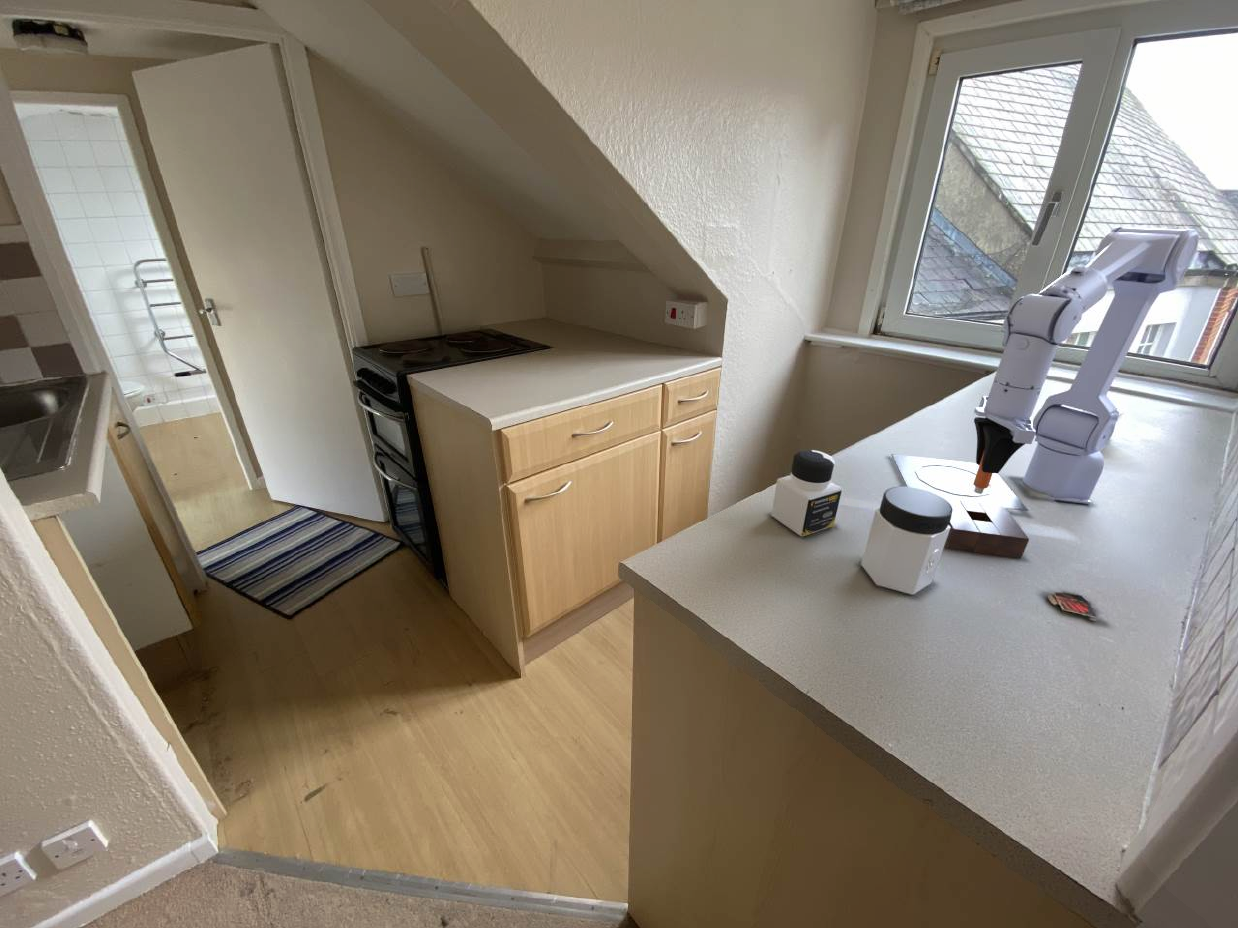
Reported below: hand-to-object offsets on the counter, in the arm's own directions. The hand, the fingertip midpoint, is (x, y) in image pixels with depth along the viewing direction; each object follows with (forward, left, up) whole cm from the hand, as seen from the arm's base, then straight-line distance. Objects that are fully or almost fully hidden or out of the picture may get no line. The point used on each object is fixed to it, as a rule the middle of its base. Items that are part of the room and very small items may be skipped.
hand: (986, 468), depth 81 cm
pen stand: (0, +3, -10) cm, 11 cm away
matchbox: (-7, +18, -10) cm, 22 cm away
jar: (+14, +17, -11) cm, 24 cm away
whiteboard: (-2, -15, -10) cm, 19 cm away
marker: (0, 0, -4) cm, 4 cm away
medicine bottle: (+26, +6, -11) cm, 29 cm away
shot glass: (-40, -49, -11) cm, 64 cm away
